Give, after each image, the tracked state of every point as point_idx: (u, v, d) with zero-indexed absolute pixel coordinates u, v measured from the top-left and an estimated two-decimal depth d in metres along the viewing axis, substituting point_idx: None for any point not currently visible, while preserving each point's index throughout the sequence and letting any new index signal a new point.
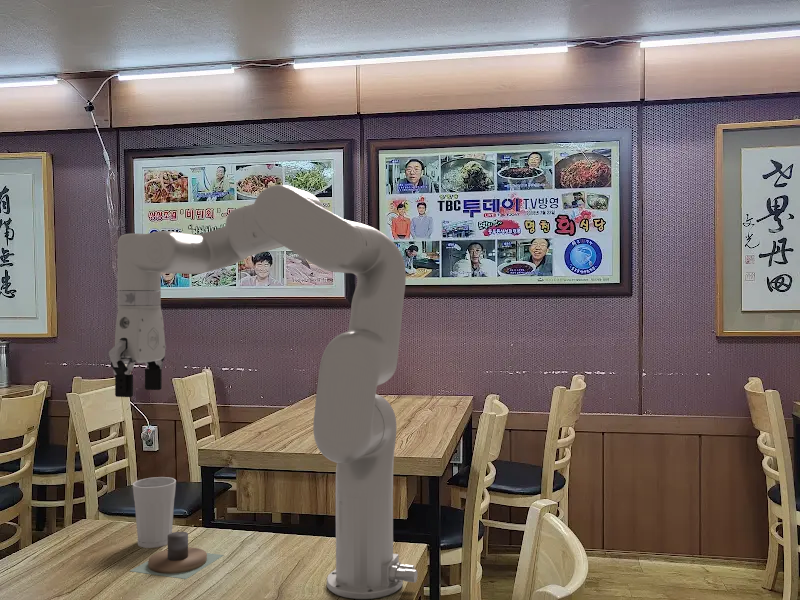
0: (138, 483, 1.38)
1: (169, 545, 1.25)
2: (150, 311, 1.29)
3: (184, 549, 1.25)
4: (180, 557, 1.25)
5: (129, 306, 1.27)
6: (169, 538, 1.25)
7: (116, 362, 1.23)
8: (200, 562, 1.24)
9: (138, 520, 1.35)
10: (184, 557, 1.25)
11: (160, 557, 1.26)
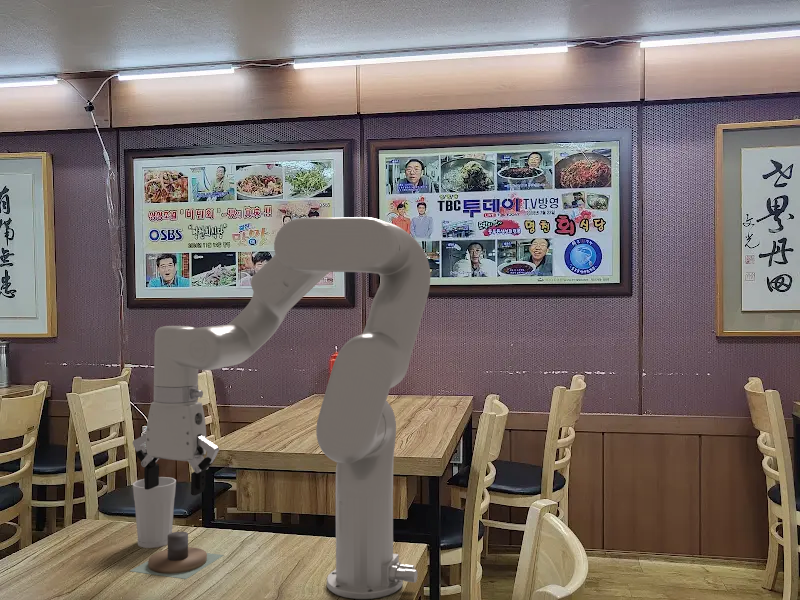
0: (138, 483, 1.38)
1: (169, 545, 1.25)
2: None
3: (184, 549, 1.25)
4: (180, 557, 1.25)
5: (194, 401, 1.25)
6: (169, 538, 1.25)
7: (214, 458, 1.24)
8: (200, 562, 1.24)
9: (138, 520, 1.35)
10: (184, 557, 1.25)
11: (160, 556, 1.26)
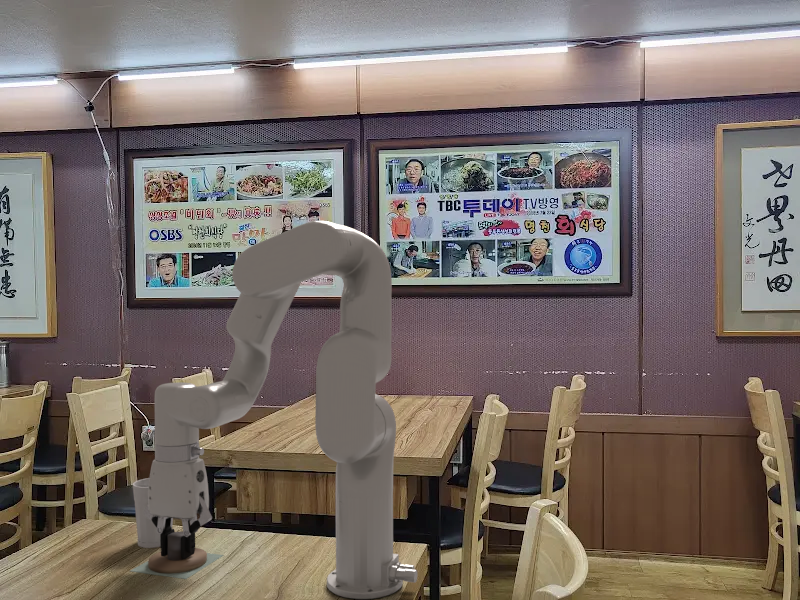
0: (138, 483, 1.38)
1: (169, 545, 1.25)
2: None
3: None
4: (180, 557, 1.25)
5: (195, 459, 1.25)
6: (169, 538, 1.25)
7: None
8: (200, 561, 1.24)
9: (138, 520, 1.35)
10: None
11: (160, 557, 1.26)
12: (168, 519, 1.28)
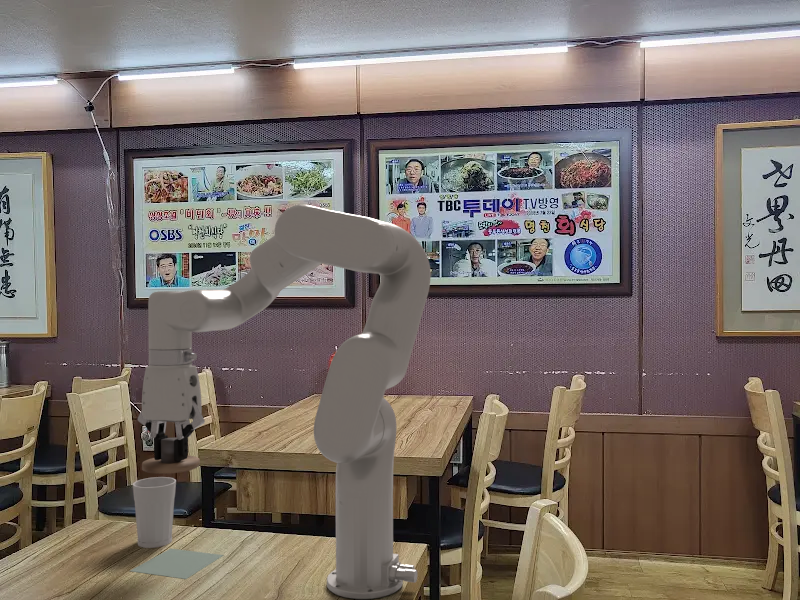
0: (138, 483, 1.38)
1: (162, 448, 1.27)
2: None
3: None
4: (173, 460, 1.27)
5: (188, 364, 1.28)
6: (162, 442, 1.27)
7: (196, 427, 1.27)
8: (193, 464, 1.27)
9: (138, 520, 1.35)
10: None
11: (153, 461, 1.29)
12: (161, 425, 1.30)
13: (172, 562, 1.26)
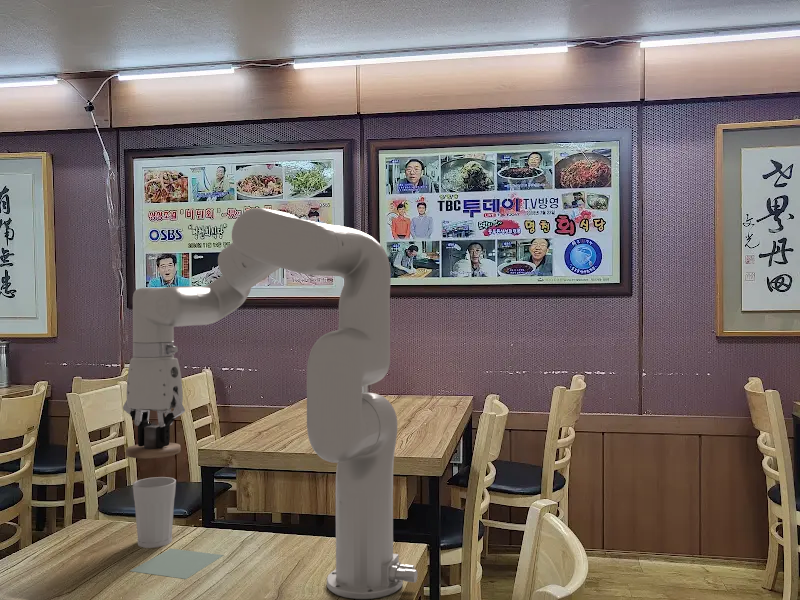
0: (138, 483, 1.38)
1: (145, 435, 1.36)
2: None
3: None
4: (155, 446, 1.36)
5: (170, 356, 1.36)
6: (145, 429, 1.36)
7: (177, 416, 1.36)
8: (174, 450, 1.35)
9: (138, 520, 1.35)
10: None
11: (137, 447, 1.37)
12: (145, 414, 1.39)
13: (172, 562, 1.26)
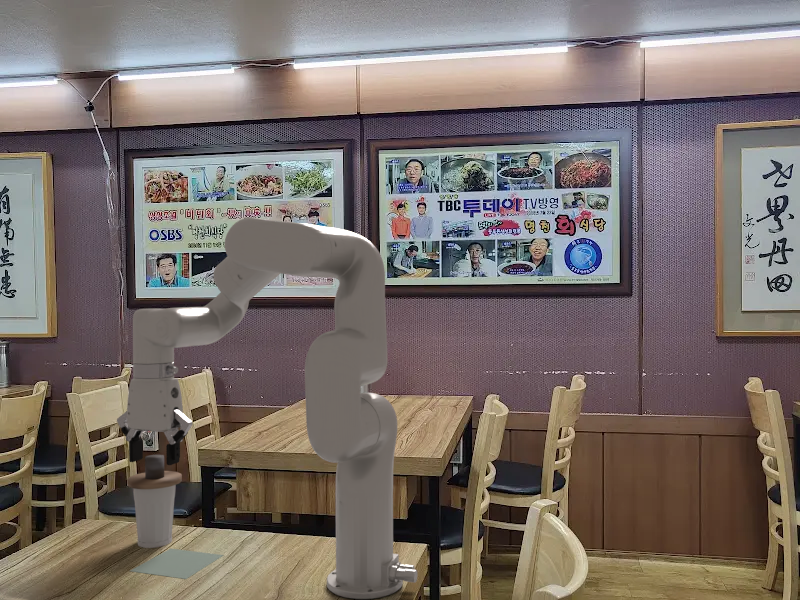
0: None
1: (146, 465, 1.36)
2: None
3: (160, 469, 1.36)
4: (157, 476, 1.35)
5: (170, 377, 1.36)
6: (146, 459, 1.36)
7: (187, 431, 1.35)
8: (175, 480, 1.35)
9: (138, 520, 1.35)
10: (160, 476, 1.36)
11: (138, 477, 1.37)
12: (138, 431, 1.39)
13: (172, 562, 1.26)
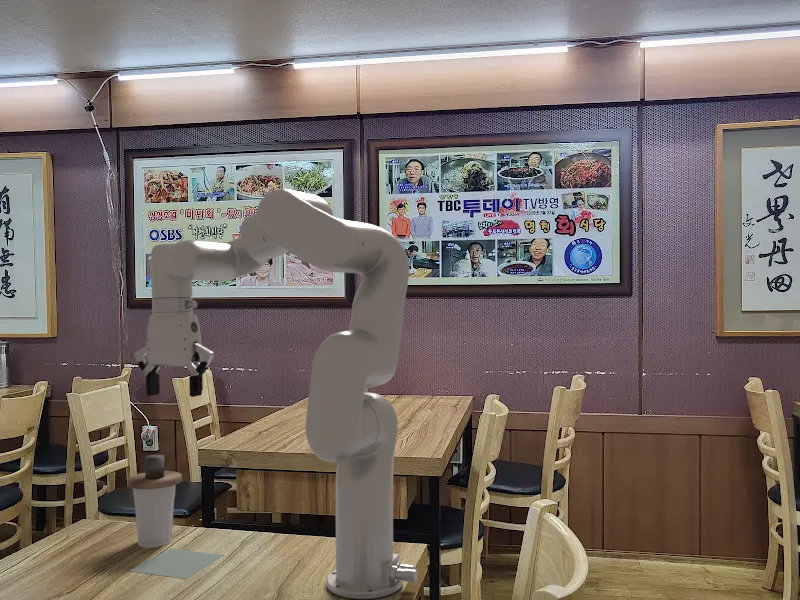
0: None
1: (146, 465, 1.36)
2: None
3: (160, 469, 1.36)
4: (157, 476, 1.35)
5: (189, 312, 1.37)
6: (146, 459, 1.36)
7: (209, 362, 1.35)
8: (175, 480, 1.35)
9: (138, 520, 1.35)
10: (160, 476, 1.36)
11: (138, 477, 1.37)
12: (156, 366, 1.40)
13: (172, 562, 1.26)
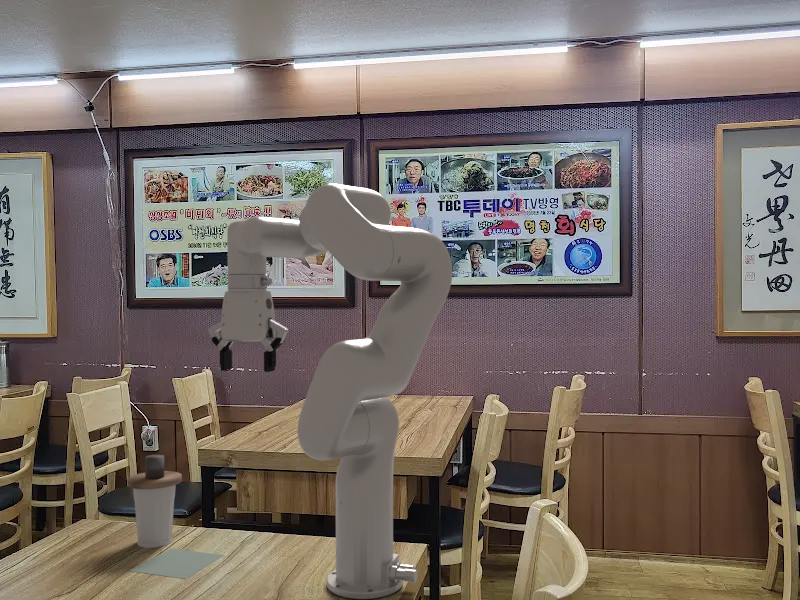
0: None
1: (146, 465, 1.36)
2: None
3: (160, 469, 1.36)
4: (157, 476, 1.35)
5: (264, 289, 1.39)
6: (146, 459, 1.36)
7: None
8: (175, 480, 1.35)
9: (138, 520, 1.35)
10: (160, 476, 1.36)
11: (138, 477, 1.37)
12: (229, 341, 1.42)
13: (172, 562, 1.26)
